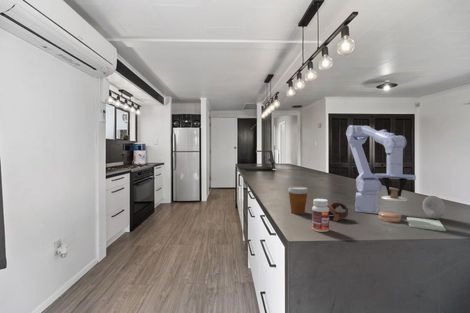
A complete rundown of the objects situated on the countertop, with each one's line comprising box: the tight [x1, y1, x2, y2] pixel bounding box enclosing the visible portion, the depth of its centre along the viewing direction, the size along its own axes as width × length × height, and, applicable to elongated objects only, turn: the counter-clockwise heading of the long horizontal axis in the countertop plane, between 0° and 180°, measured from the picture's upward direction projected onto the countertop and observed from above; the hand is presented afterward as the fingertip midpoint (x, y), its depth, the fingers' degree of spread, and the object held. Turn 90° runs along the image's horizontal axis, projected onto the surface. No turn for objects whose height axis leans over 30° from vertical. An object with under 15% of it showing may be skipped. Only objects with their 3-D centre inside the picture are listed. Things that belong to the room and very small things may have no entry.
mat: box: [406, 216, 447, 232], centre depth 100 cm, size 11×13×1 cm
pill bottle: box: [311, 198, 330, 233], centre depth 93 cm, size 6×6×11 cm
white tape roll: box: [422, 195, 446, 220], centre depth 108 cm, size 10×4×10 cm, turn 3°
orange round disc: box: [378, 211, 402, 223], centre depth 107 cm, size 9×9×2 cm
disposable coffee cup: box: [287, 186, 309, 215], centre depth 119 cm, size 10×10×12 cm
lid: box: [381, 188, 408, 202], centre depth 105 cm, size 9×9×4 cm
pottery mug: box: [327, 201, 349, 222], centre depth 108 cm, size 12×10×8 cm
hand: (394, 195), depth 105 cm, fingers closed on lid, 3 cm apart
